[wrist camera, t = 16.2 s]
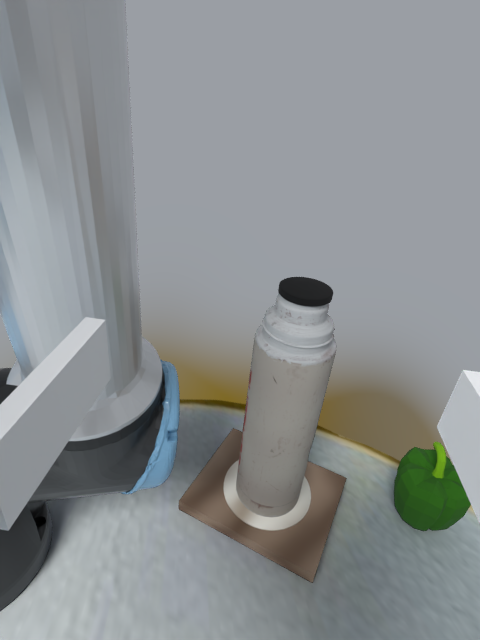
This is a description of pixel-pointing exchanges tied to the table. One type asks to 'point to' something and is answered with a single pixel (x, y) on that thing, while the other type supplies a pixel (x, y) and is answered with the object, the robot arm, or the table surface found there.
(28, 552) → the robot arm
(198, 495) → the docking mat
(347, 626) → the table surface
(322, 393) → the thermos bottle
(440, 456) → the bell pepper
